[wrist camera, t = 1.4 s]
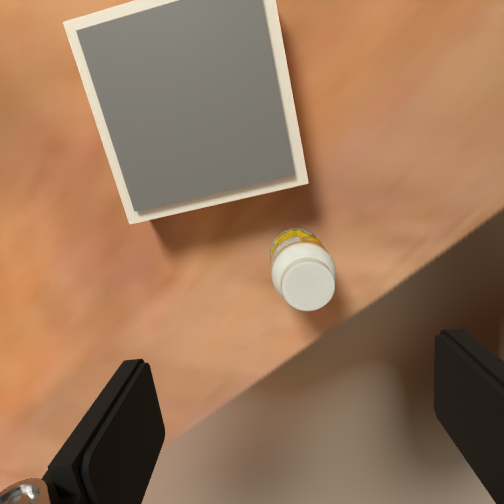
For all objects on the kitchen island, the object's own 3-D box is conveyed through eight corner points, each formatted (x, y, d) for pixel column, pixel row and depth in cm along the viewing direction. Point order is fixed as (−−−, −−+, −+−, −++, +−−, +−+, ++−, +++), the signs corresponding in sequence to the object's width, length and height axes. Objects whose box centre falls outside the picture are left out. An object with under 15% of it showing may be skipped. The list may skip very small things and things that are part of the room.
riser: (267, -7, 27) (268, -44, 23) (302, 180, 31) (309, 183, 26) (93, 43, 29) (58, 19, 24) (147, 216, 33) (127, 225, 28)
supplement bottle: (260, 243, 33) (258, 274, 24) (306, 217, 32) (323, 238, 23) (285, 286, 34) (293, 331, 25) (331, 262, 33) (356, 299, 24)
